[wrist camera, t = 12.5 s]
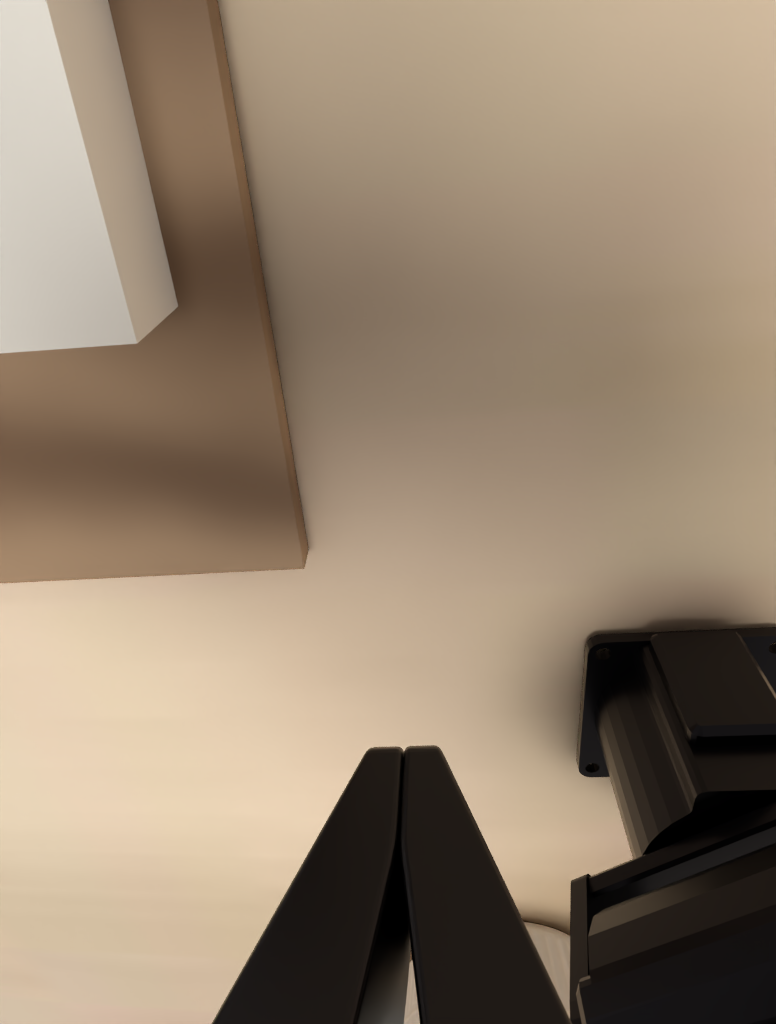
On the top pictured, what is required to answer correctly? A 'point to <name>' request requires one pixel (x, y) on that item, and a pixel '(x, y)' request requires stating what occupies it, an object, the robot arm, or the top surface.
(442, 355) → the top surface
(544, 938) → the ramekin
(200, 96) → the walnut board
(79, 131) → the socket
